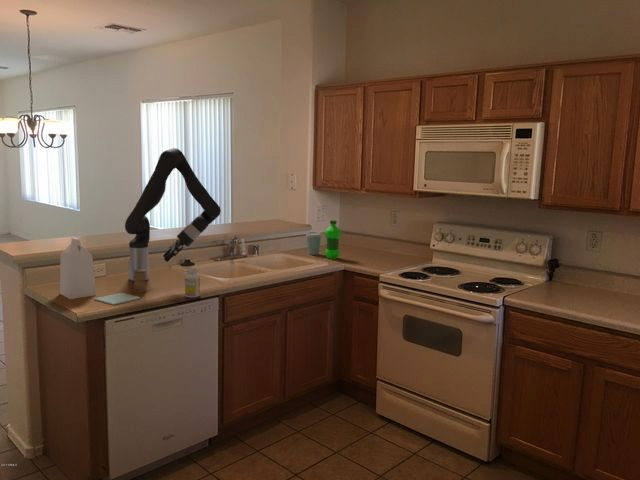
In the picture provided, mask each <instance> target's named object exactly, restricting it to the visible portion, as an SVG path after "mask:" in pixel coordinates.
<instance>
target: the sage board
mask: <svg viewBox="0 0 640 480" xmlns="http://www.w3.org/2000/svg"><path fill="white" fill-rule="evenodd" d="M141 298H142V297H139V296H136V295H132V294H128V293H124V292H118V293H114V294H109V295H104V296H100V297H99V296H98V297H96V298H95V297H94V298H93V301H96V302H101V303H104V304H108V305H112V306H116V305H120V304H121V305H122V304H124V303H129V302H133V301H138V300H141Z"/></svg>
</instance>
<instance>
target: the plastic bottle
mask: <svg viewBox="0 0 640 480" xmlns="http://www.w3.org/2000/svg"><path fill="white" fill-rule="evenodd" d="M337 221H338V220H334V219H333V220H330V221H329V224H330V226H329V227H327V228H326V229H325V233H324V234H325V235H324V236H325V237H326V249H325V252H324V255H325V256H326V258H328V259H329V260H336V259H337V258H339V256H340V253H341V252H340V250H339V249H340V248H339V243H340V242H339V241H340V238H341V235H342V233H341V232H342V231H341V229H339V228H338V227H337Z"/></svg>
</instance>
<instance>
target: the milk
mask: <svg viewBox="0 0 640 480" xmlns="http://www.w3.org/2000/svg"><path fill="white" fill-rule="evenodd" d="M70 242H71V243H70V244H69V245H68V246H67V247H65V249H63V251H62V252H61V253H60V256H59V257H60V259H59V260H60V261H59V262H60V263H59V265H60V266H59V268H60V269H59V270H60V271H59V282H60V283H59V294H60V295H62V296H63V297H65V298H67V299H69V300H72V299H80V298H85V297H92V296H96V293H97V292H96V282H95V271H94V270H95V269H94V260H93V259H94V258H93V257H94V256H93V255H92V253H91V252H90V251H88V250H87V247H85V246H84V245H83V244H82V243H81V239H79V238H77V237H71V241H70Z"/></svg>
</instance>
